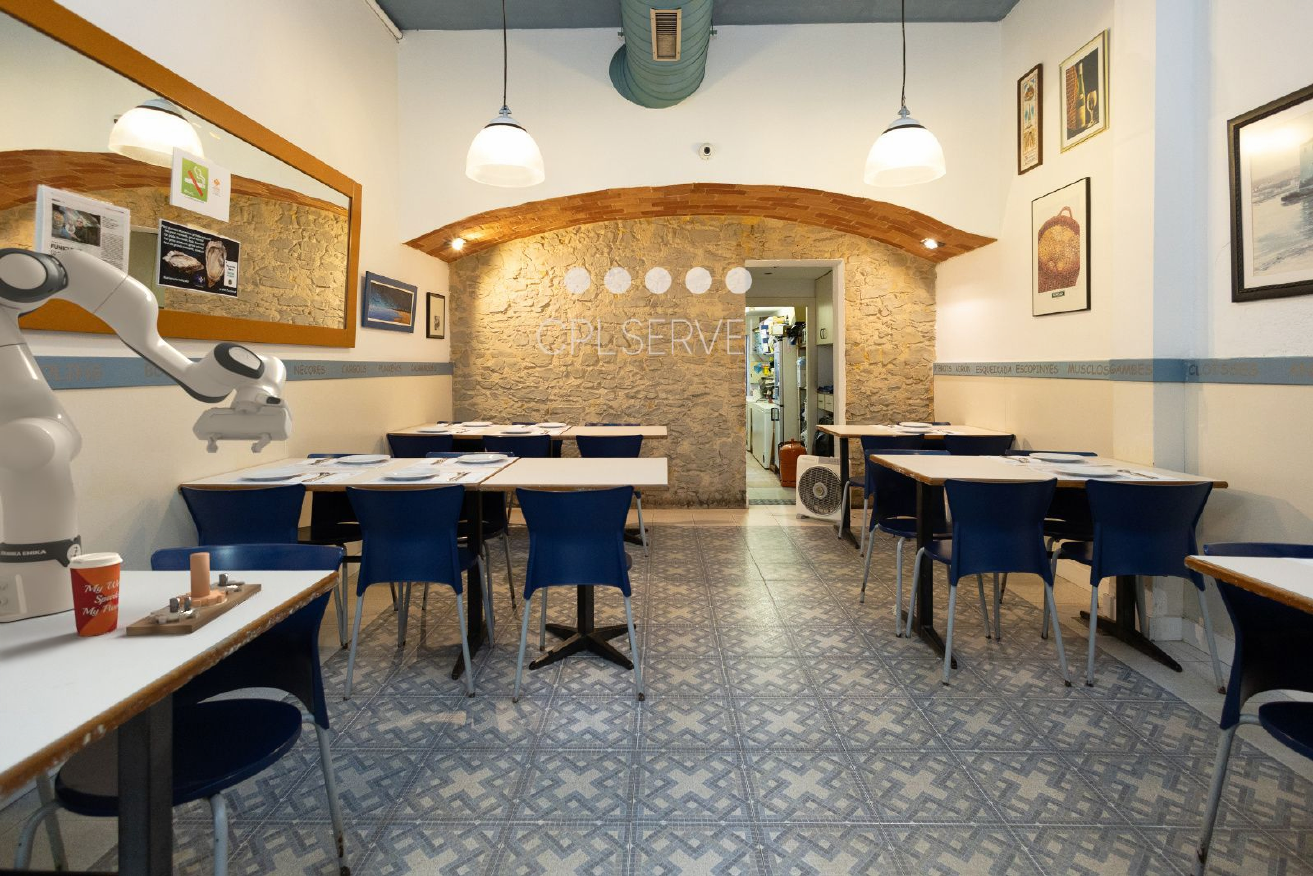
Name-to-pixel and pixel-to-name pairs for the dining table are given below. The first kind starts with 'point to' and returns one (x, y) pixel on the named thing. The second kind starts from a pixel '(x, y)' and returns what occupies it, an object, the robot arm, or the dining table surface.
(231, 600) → the gear board
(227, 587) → the gear
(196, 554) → the idler gear
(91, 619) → the paper cup
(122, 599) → the dining table surface
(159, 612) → the gear
